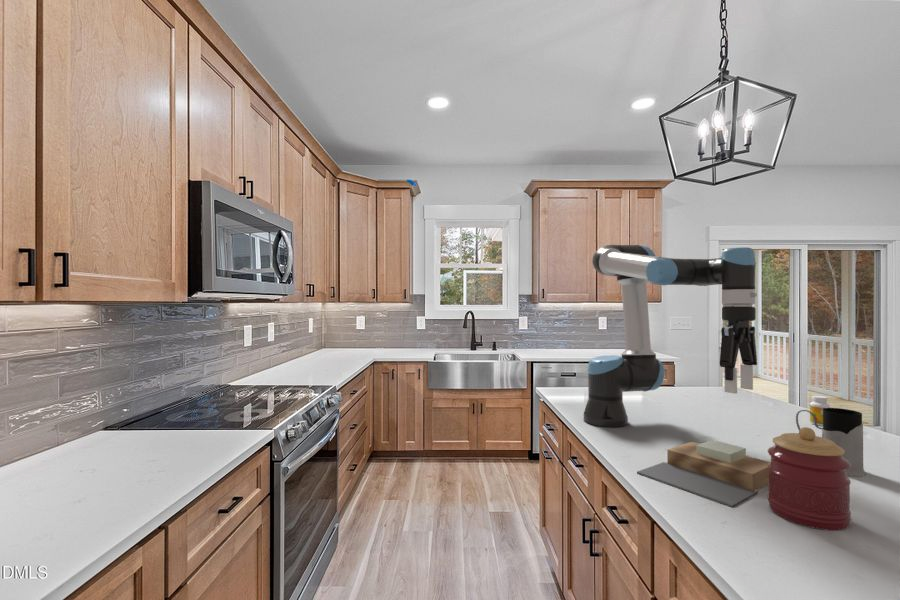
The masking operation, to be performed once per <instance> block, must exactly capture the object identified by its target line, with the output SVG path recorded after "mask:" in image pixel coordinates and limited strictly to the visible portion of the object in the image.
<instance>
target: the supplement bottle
mask: <svg viewBox="0 0 900 600" xmlns="http://www.w3.org/2000/svg"><path fill="white" fill-rule="evenodd" d="M811 398H812V401H811V402H810V403H809V411H811V412H812V413H813V414H814V415H815V417H816V421H817V426H818V427H823V408H831V406H830V404H829V403H827V402H828V397H827V396H823V395H812V397H811ZM809 423H810V424H811V425H814V426H815V424H814V418H813V416H812V415H811V414H810V413H809Z"/></svg>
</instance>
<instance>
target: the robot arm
mask: <svg viewBox="0 0 900 600" xmlns="http://www.w3.org/2000/svg"><path fill="white" fill-rule="evenodd" d="M591 262H592V267H593V269H595V271H596V272H597V273H599V274H600V275H602V276H603V275H604V276H609V277H616V282H617V284H619V285H620V286H621V293H622V294H621V296H622V313H623V314H622V315H623V329H624V343H625V350H624V351H623V352H622V353H621V355H617V354H616V355H614V354H612V355H611V354H610V355H600V356H596V357H592V358H590V359H589V362H588V367H587V374H588V375H587V377H588V378H587V380H588V381H587V382H588V384H587V385H588V387H587V388H588V399H587V401H586V405H585V409H584V412H583V421H584V422H585V423H586V424H590V425H593V426H597V427H604V426H605V427H607V428H609V427H610V428H618V427H625V426H628V423H629V417H628V413H627V411H626V407H625V405H624V399H623V393H624V392H648V391H656V390H657V389H659V388H660V386H662V384H663V382H664V379H665V366H664V365H663V362H662V361H661V360H660V359H658V358H657V355H656V353H655V351H653V350H652V347H651V345H652V344H651V333H650V319H649V318H650V316H649V302H648V289H647V285H648V283H649V282H650V283H651V284H653V285H658V286H673V285H674V286H679V285H680V286H699V287H707V286H716V285H721V304H722V305H723V306H722V307H721V319H722V320H723V321H727V322H728V323H727V327H721V329H720V331H721V343H720V354H719V367H720V368H724V370H723V371H724V375H723V376H724V393H730V394H736V395H737V394H738V368H737V367H736V365H737V359H738V354H740V359H741V363H742V364H740V389H742V390H743V389H744V390H750V391H753V390H754V385H753V384H754V366H757V365H758V358H757V356H758V355H757V347H756V346H757V345H756V344H757V343H756V337H755V334H756V327H755V326H750V321H751V322H753V321H755V320H756V311H757V310H756V307H755V306H753V305H755V304H756V297H757V296H758V294H757V292H756V265H757V262H756V252H755V250H754V248H751V247H742V246H741V247H730V248H729V247H728V248H725V249H723V250H721V256H720V257H718V258H707V259H706V258H674V257H673V258H671V257H664V256H662V257H661V256H656V253H655V252H654V250H652V249H651V247H649V246H646V245H639V244H607V245H604V246H603V245H602V246H601V247H600V248H598V249H597V250H596V251H595V252H594V254H593V256H592V261H591Z"/></svg>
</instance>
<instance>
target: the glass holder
mask: <svg viewBox="0 0 900 600" xmlns="http://www.w3.org/2000/svg"><path fill="white" fill-rule="evenodd" d="M801 412H807V413H808V414H809V415H810V414H811V415H812V416H813V418H814V424H815V425H814V424H813V425H814V426H815V427H816V429H818V430H821V437H822V438H826V439H829V440H831V441H833V442H834V443H835V444H836V445H838V446H840V447H841V448H843V449H844V451H845V453H844V454H843V455H842V456H843V458H845V459H846V460H848V461H849V462H850V464H851V466H850V468H848V469H847V477H857V478H858V477H865V476H866V475H867V474H866V471H865V469H864V423H863V413H862V412H860V411H857V410H854V409H853V410H852V409H849V408H847V409H846V408H838V407H830V408H823V426H819V425H817V421H816V417H815V415H814V414H813V413H812V412H811V411H810V410H808V409H801V410H799V411H797V413H796V415H795V423H796V427H797V429H798V431H799V430H800V429H801V427H800V423H799V414H800V413H801Z"/></svg>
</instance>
